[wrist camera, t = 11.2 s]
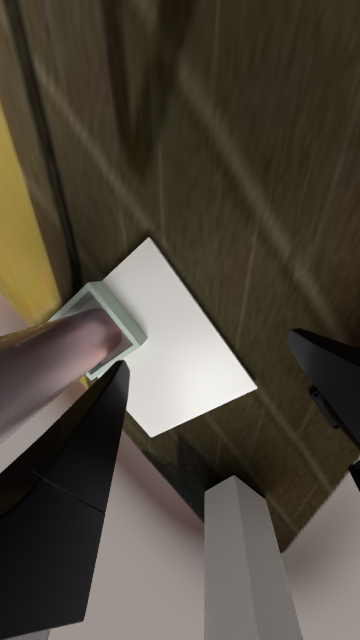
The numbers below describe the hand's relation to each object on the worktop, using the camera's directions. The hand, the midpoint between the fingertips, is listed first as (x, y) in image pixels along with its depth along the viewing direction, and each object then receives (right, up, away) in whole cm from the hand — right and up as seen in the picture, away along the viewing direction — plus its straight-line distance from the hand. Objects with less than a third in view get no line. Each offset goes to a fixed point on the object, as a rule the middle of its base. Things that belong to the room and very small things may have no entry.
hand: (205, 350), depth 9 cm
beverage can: (-11, 0, +13) cm, 17 cm away
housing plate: (-5, -3, +14) cm, 15 cm away
